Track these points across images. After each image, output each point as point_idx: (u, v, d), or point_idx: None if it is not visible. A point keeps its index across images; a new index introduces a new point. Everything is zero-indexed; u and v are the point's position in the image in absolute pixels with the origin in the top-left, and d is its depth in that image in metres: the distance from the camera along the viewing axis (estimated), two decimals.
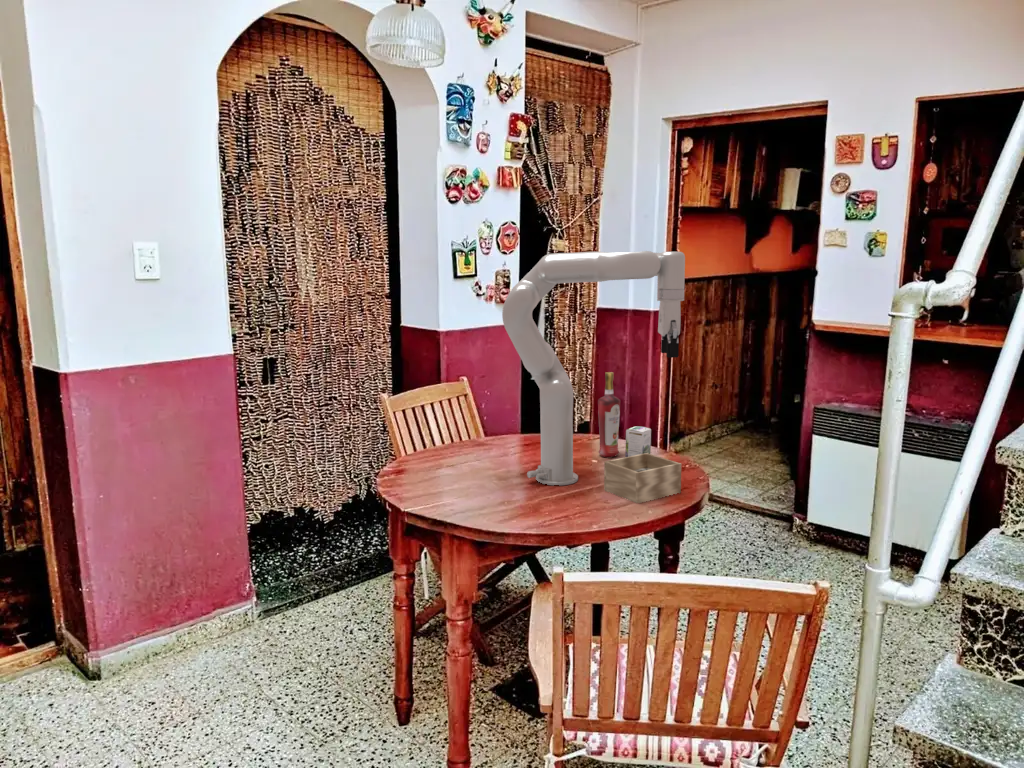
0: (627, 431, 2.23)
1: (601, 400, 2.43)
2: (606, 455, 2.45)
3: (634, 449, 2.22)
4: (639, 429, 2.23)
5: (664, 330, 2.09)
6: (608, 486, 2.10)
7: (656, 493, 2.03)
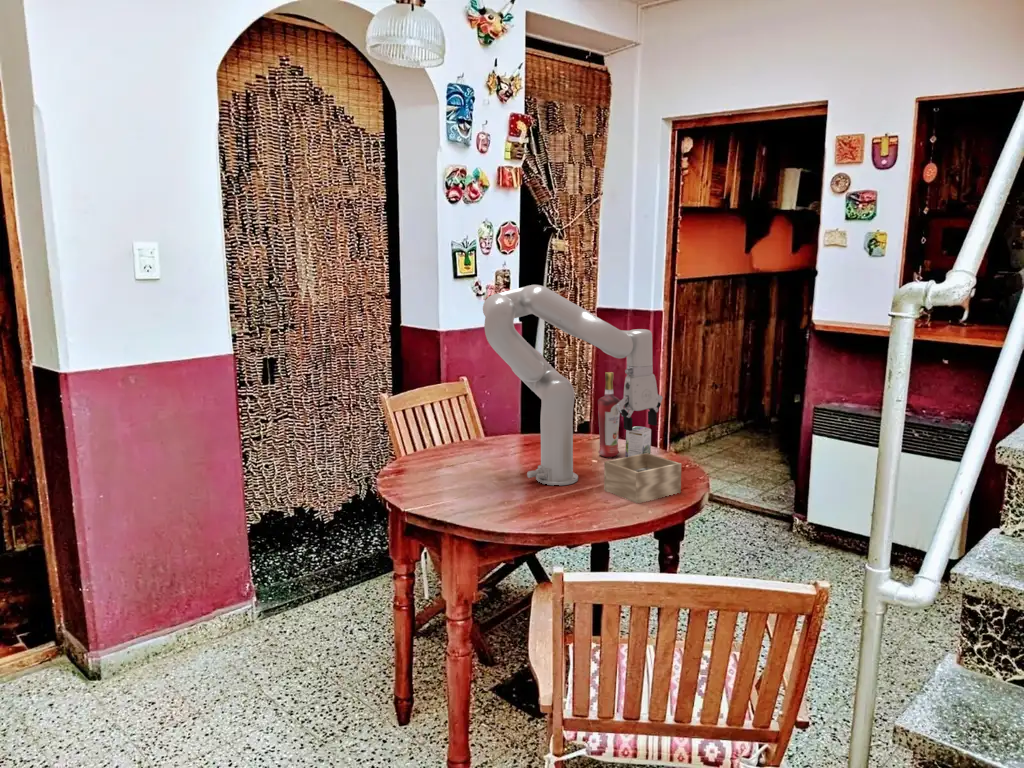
0: (627, 431, 2.23)
1: (601, 400, 2.43)
2: (606, 455, 2.45)
3: (634, 449, 2.22)
4: (639, 429, 2.23)
5: (657, 401, 2.23)
6: (608, 486, 2.10)
7: (656, 493, 2.03)
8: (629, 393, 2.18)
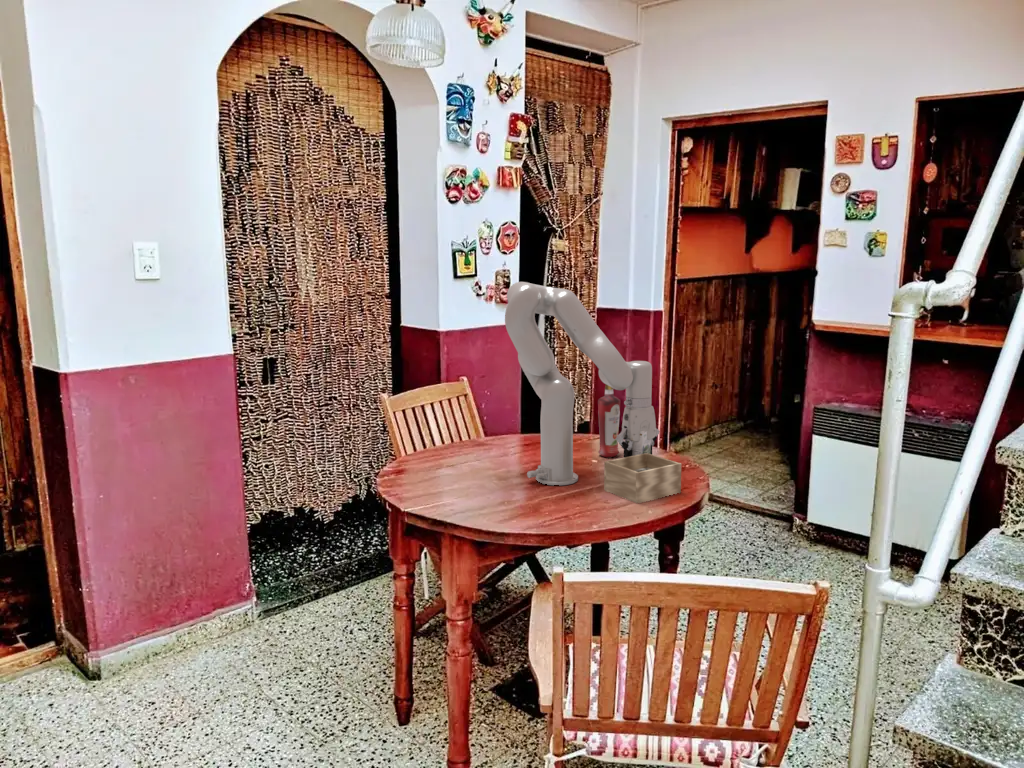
0: None
1: (601, 400, 2.43)
2: (606, 455, 2.45)
3: (634, 449, 2.22)
4: None
5: (655, 432, 2.25)
6: (608, 486, 2.10)
7: (656, 493, 2.03)
8: (628, 424, 2.20)
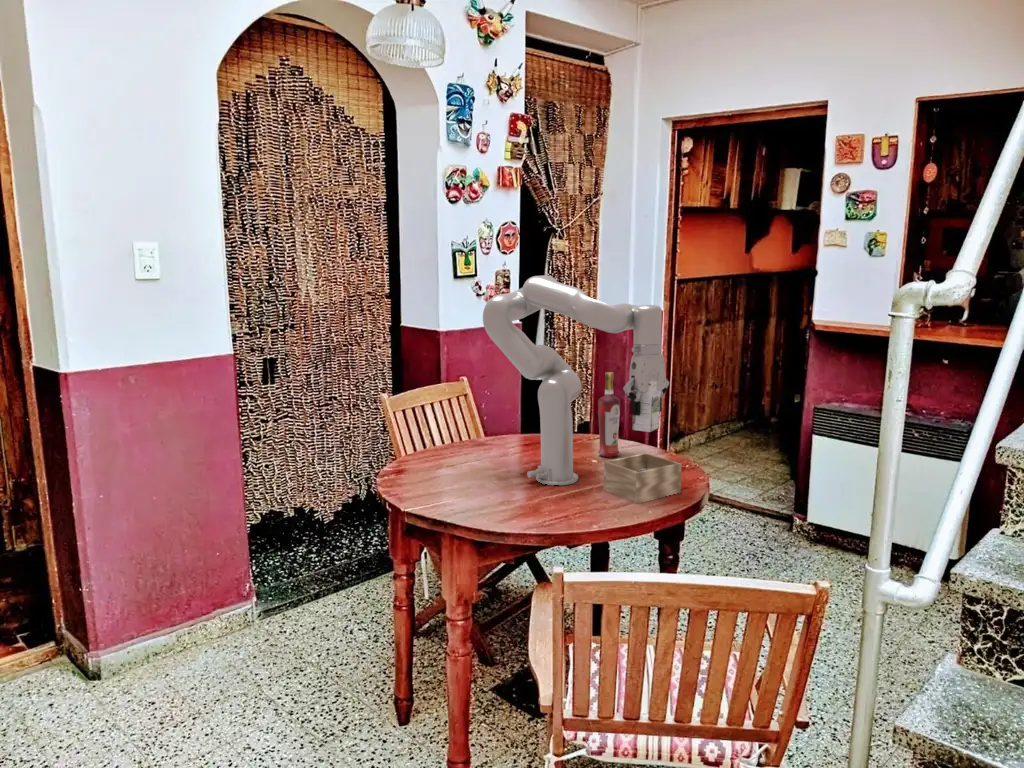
0: None
1: (601, 400, 2.43)
2: (606, 455, 2.45)
3: (642, 401, 2.05)
4: None
5: (665, 383, 2.08)
6: (608, 486, 2.10)
7: (656, 493, 2.03)
8: (635, 373, 2.03)
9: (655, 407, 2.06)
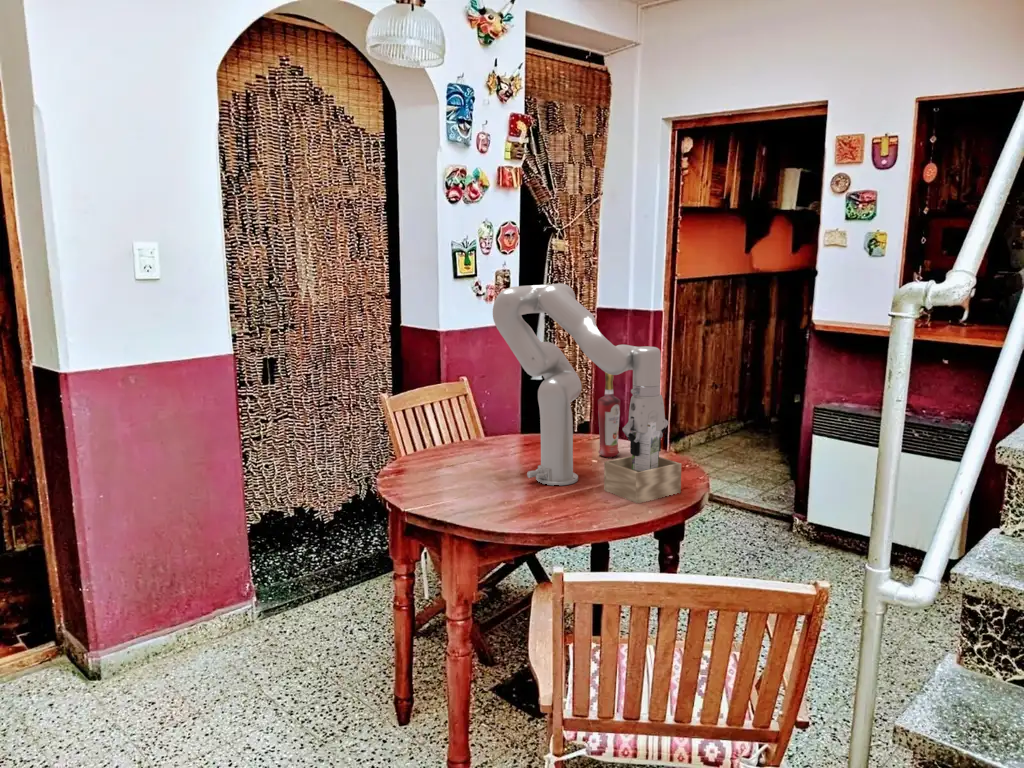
0: None
1: (601, 400, 2.43)
2: (606, 455, 2.45)
3: (642, 442, 2.07)
4: None
5: (664, 423, 2.09)
6: (608, 486, 2.10)
7: (656, 493, 2.03)
8: (635, 414, 2.05)
9: (655, 447, 2.08)
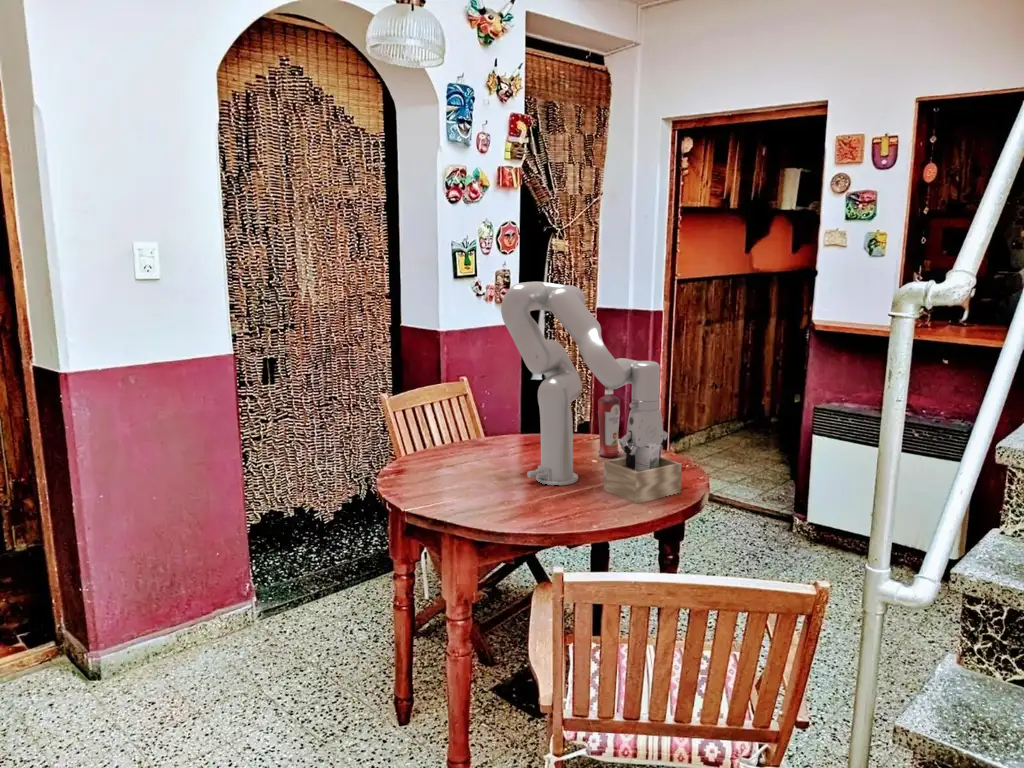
0: None
1: (601, 400, 2.43)
2: (606, 455, 2.45)
3: (641, 462, 2.08)
4: None
5: (662, 437, 2.10)
6: (608, 486, 2.10)
7: (656, 493, 2.03)
8: (633, 429, 2.05)
9: None
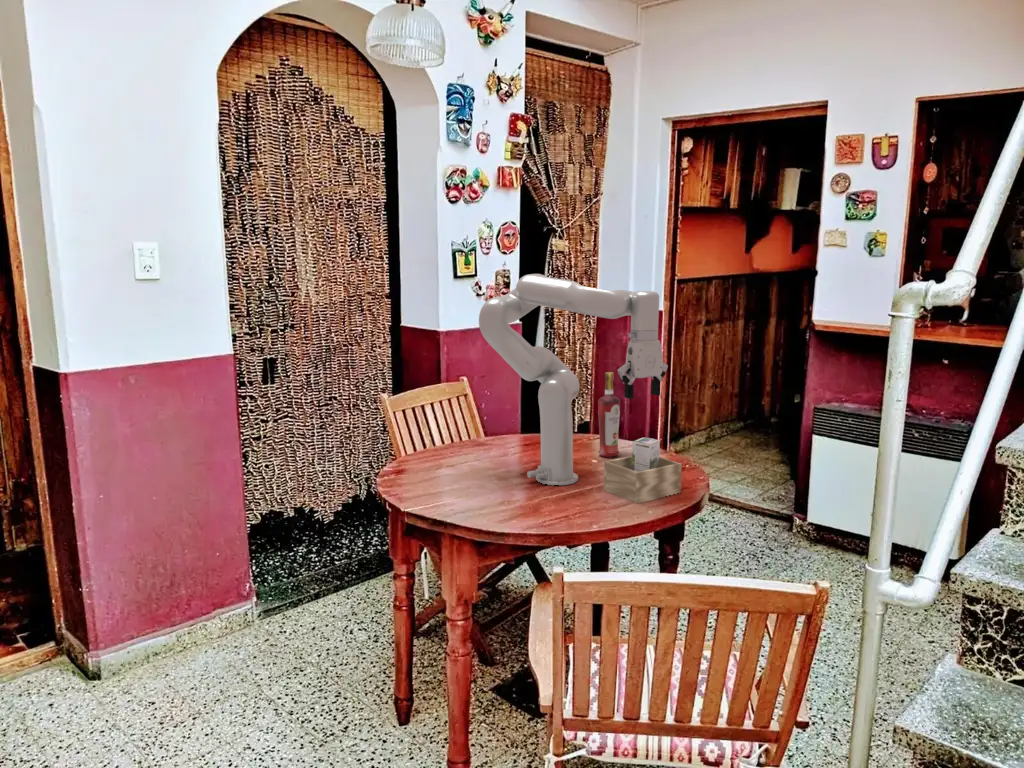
0: (634, 443, 2.09)
1: (601, 400, 2.43)
2: (606, 455, 2.45)
3: (641, 462, 2.08)
4: (646, 441, 2.09)
5: (662, 369, 2.09)
6: (608, 486, 2.10)
7: (656, 493, 2.03)
8: (632, 358, 2.05)
9: None
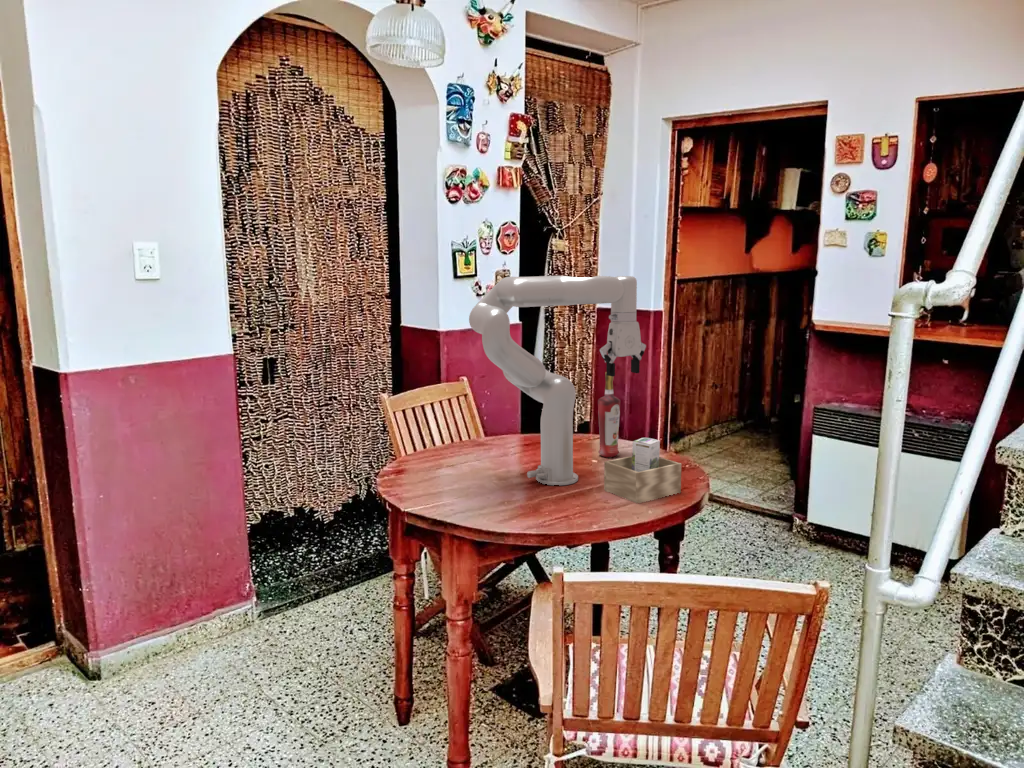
0: (634, 443, 2.09)
1: (601, 400, 2.43)
2: (606, 455, 2.45)
3: (641, 462, 2.08)
4: (647, 441, 2.09)
5: (640, 348, 2.25)
6: (608, 486, 2.10)
7: (656, 493, 2.03)
8: (612, 339, 2.20)
9: None
